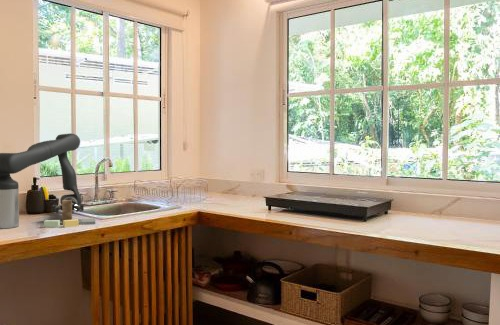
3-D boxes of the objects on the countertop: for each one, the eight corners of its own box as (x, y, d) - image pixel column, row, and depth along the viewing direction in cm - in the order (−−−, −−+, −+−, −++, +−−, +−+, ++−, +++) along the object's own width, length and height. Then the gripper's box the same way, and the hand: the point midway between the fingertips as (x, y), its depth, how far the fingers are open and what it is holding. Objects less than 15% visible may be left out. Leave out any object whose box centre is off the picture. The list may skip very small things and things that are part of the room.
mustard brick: (64, 227, 200) (64, 221, 200) (63, 226, 202) (63, 220, 202) (78, 226, 203) (78, 220, 203) (77, 225, 206) (77, 219, 205)
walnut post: (62, 224, 206) (62, 201, 206) (63, 223, 210) (62, 200, 209) (71, 224, 207) (71, 200, 207) (72, 222, 211) (71, 199, 211)
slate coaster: (77, 224, 206) (77, 222, 206) (77, 221, 214) (77, 219, 214) (95, 223, 209) (95, 221, 209) (95, 221, 216) (95, 218, 216)
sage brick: (44, 227, 199) (43, 221, 199) (46, 226, 202) (46, 220, 202) (58, 227, 200) (58, 221, 200) (59, 226, 203) (59, 220, 203)
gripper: (53, 198, 221) (50, 202, 206) (84, 197, 226) (83, 201, 210) (53, 213, 221) (50, 218, 206) (84, 212, 226) (83, 217, 211)
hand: (67, 209), depth 208 cm, fingers open, 8 cm apart
